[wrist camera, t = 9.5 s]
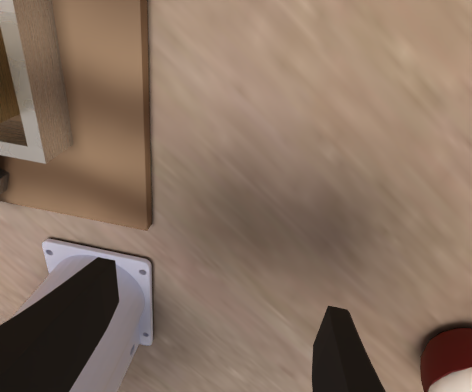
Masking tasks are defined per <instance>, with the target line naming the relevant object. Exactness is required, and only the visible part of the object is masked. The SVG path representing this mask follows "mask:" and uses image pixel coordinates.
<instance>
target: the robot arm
mask: <svg viewBox="0 0 472 392" xmlns="http://www.w3.org/2000/svg"><path fill="white" fill-rule="evenodd" d="M42 247H43V251H44V256H45V260H46V264H47V268H48V272H49V275H48V276H47V277H46V279H45V280H44V281H43V282H42V283H41V284H40V285H39V287H38V288H37V289H36V290H35V291H34V292H33V294H32V295H31V296H30V297H29V298H28V299H27V300H26V302H25V303H24V304H23V305H22V306H21V307H20V308H19V310H18V311H17V312H16V313H15V314H14V315H13V316H12V318H11V319H10V320H8V321H7V322H5V323H3V324H2V325H0V392H117V391H118V389H119V387H120V385H121V383H122V380H123V378H124V376H125V374H126V372H127V369H128V367H129V365H130V363H131V361H132V359H133V356H134V354H135V352H136V350H137V348H138V346H139V344H142V345H146V346H149V345H151V344H152V342H153V310H152V269H151V263H150V261H149V260H147V259H144V258H140V257H135V256H130V255H125V254H121V253H116V252H111V251H106V250H102V249H97V248H92V247H87V246H83V245H78V244H73V243H68V242H63V241H59V240H54V239H45V240H44V241H43V243H42ZM144 270H145V271H144ZM312 387H313V392H385V390H384V388H383V386H382V384H381V382H380V380H379V378H378V376H377V374H376V372H375V370H374V368H373V366H372V364H371V362H370V359H369V357H368V355H367V353H366V351H365V348H364V346H363V344H362V342H361V339H360V337H359V335H358V332H357V330H356V328H355V325H354V323H353V320H352V318H351V315H350V313H349V311H348V310H346V309H342V308H337V307H332V306H328V308H327V310H326V313H325V316H324V318H323V321H322V323H321V326H320V329H319V331H318V334H317V337H316V339H315V342H314V344H313V363H312Z"/></svg>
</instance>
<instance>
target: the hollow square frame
mask: <svg viewBox="0 0 472 392" xmlns="http://www.w3.org/2000/svg"><path fill="white" fill-rule="evenodd" d="M0 27H1V31H2V36H3V40H4V45H5V49H6V53H7V58H8V62H9V67H10V71H11V75H12V80H13V84H14V88H15V93H16V97H17V102H18V106H19V110H20V115H21V119H22V122H20V121H14V120H9V119H8V120H6V121H4V122H2V123H0V155H2V156H8V157H13V158H18V159H23V160H29V161H34V162H39V163H44V164H46V163H48V162H49V161H50V160H52V159H53V158H55V157H56V156H57V155H59V154H60V153H62V152H63V151H65V150H66V149H67V148H69V147H70V146H72V145H73V138H72V131H71V124H70V118H69V111H68V104H67V98H66V91H65V84H64V78H63V71H62V64H61V58H60V51H59V44H58V38H57V31H56V24H55V18H54V11H53V4H52V0H0Z"/></svg>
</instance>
